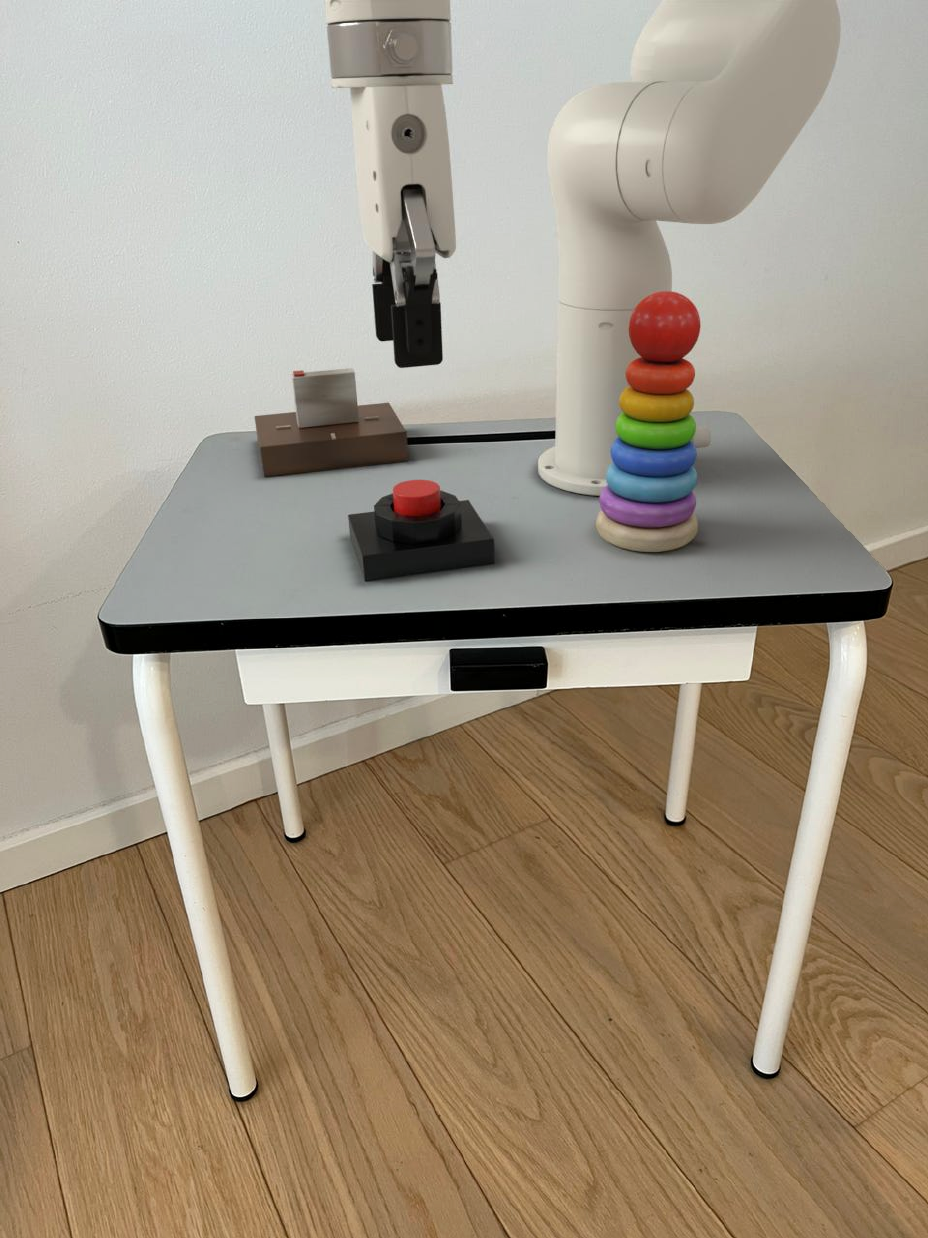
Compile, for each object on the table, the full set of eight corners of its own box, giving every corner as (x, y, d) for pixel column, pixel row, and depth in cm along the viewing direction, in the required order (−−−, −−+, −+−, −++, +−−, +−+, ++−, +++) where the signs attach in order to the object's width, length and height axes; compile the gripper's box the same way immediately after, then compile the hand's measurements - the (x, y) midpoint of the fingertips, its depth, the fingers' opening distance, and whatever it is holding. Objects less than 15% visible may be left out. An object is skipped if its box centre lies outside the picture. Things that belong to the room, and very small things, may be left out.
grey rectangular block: (356, 417, 95) (352, 365, 92) (359, 422, 94) (354, 369, 91) (297, 423, 94) (290, 370, 91) (298, 428, 93) (292, 375, 90)
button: (435, 497, 75) (434, 476, 74) (445, 515, 72) (444, 493, 71) (390, 503, 74) (389, 482, 73) (398, 521, 71) (397, 499, 70)
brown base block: (390, 429, 101) (388, 400, 99) (408, 461, 92) (406, 430, 91) (258, 443, 98) (254, 413, 97) (263, 477, 90) (259, 445, 88)
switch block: (469, 524, 79) (467, 478, 77) (494, 564, 72) (493, 516, 70) (350, 539, 77) (345, 493, 75) (364, 582, 70) (360, 533, 68)
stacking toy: (697, 560, 72) (723, 305, 62) (591, 553, 73) (602, 303, 64) (696, 518, 78) (720, 282, 69) (599, 513, 80) (610, 281, 71)
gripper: (486, 53, 51) (491, 378, 60) (422, 61, 66) (434, 321, 75) (349, 57, 50) (374, 389, 59) (315, 64, 65) (339, 329, 73)
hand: (407, 349), depth 67 cm, fingers open, 7 cm apart
